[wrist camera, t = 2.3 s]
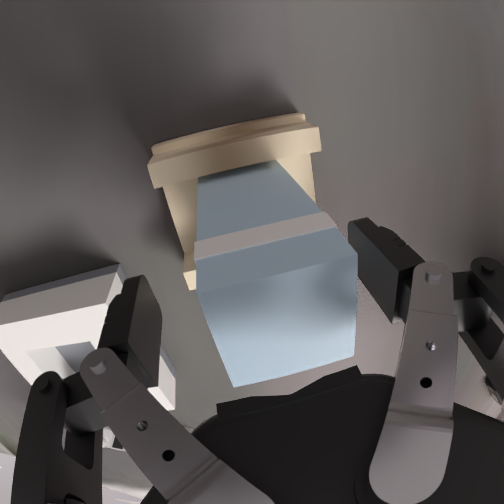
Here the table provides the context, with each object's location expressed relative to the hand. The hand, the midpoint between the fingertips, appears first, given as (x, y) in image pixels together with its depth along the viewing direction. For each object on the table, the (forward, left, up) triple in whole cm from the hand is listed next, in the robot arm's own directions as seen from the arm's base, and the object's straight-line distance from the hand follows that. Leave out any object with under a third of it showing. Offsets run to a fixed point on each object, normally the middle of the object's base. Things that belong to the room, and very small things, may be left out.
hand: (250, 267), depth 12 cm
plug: (-1, 0, -6) cm, 6 cm away
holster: (-1, 0, -7) cm, 7 cm away
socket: (+13, +8, -7) cm, 17 cm away
